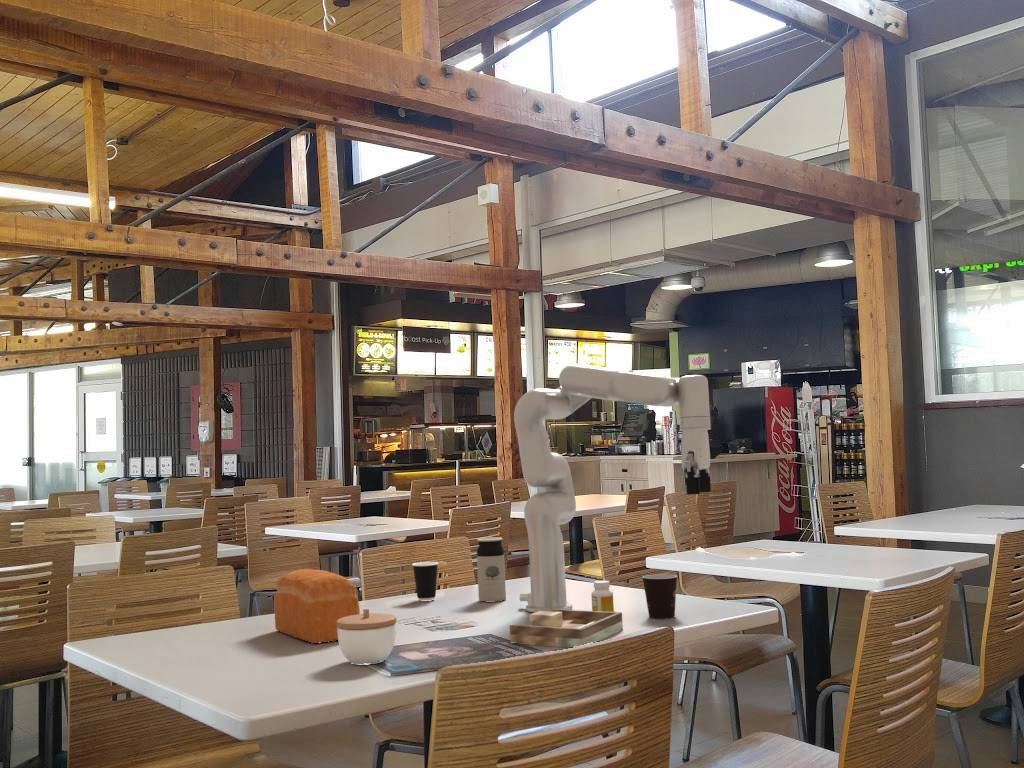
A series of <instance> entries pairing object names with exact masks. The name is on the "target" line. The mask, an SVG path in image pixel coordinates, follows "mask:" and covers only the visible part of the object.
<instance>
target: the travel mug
mask: <svg viewBox="0 0 1024 768" xmlns="http://www.w3.org/2000/svg"><path fill="white" fill-rule="evenodd" d="M502 541H503V538H502V537H500V536H499V537H496V536H494V537H492V536H491V537H489V536H488V537H480V538H477V542H478V547H477V548H476V549H477V550H476V561H477V564H476V565H477V587H478V588H477V589H478V601H480V602H481V601H500V602H502V601H501V600H504V601H505V600H506V599H507V593H506V592H507V591H506V571H505V570H506V569H505V567H506V566H505V549H504V547H503V545H502Z"/></svg>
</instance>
